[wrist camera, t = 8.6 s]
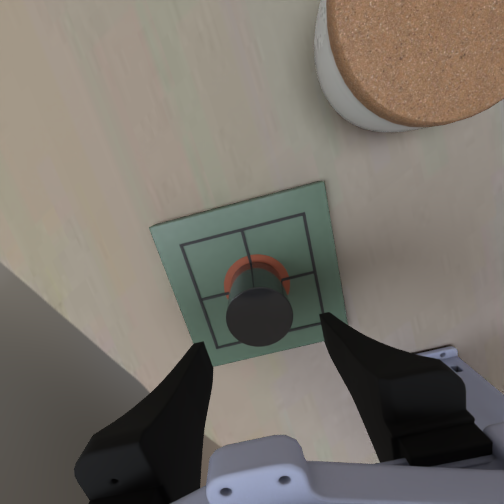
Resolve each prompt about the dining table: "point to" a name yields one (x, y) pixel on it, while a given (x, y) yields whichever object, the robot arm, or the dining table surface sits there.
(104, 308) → the dining table surface
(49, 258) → the dining table surface
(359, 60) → the trinket box
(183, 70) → the dining table surface
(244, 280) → the dark grey canister
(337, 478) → the robot arm
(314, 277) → the board
